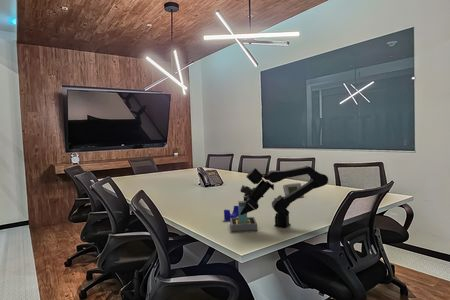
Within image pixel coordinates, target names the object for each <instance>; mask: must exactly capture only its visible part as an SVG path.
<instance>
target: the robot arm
mask: <svg viewBox="0 0 450 300" xmlns="http://www.w3.org/2000/svg"><path fill="white" fill-rule="evenodd" d="M304 175H307V176H309V177H310V179H309V180H308V182H306V183H304V184H302V185H301V187H299V188H298V189H296V190H295V191H293V192H291V193H290V194H288V195H287V196H285V195H284V196H283V195H280V194H279V196H277V197H275V198H273V201H272V202H271V208H272V209H273V210H274V211H275V216H274V227H278V228H283V229H285V228H288V227H289V226H292V225H291V223H290V211H289V210H288V207H289V206H290V205H291V204H292V203H293V202H295V201H296V200H298V199H300V198H302V197H301V196H303V195H304V196H305V195H306V194H308V193H310V192H311V191H312V190H314V189H315V190H316V189H318V188H322V187H324V186H327V184H328V183H329V177H328V176H327V175H326V174H324V173H320V172H319V171H316V170H315V169H314V168H312V167H311V166H310V165H309V166H308V165H305V166H303V167H297V168H292V169H286V170H269V171H268V172H267V173H261V172H260V171H259V170H258V168H256V167H254V168H253V169H252V170H250V171H249V172H248V174H246V177H245V178H246V179H248V181H250V182H251V183H252V184H253V185H256V187H253V188H251V187H249V186H248V185H243V184H242V185H241V187H240V190H239V191H240V192H241V193H242V194H243V201H246V205H245V207H244V208H243V210H242V211H241V213H240V214H241V215H243V214H246V213H247V214H248V213H250V212H253V211H257V209H259V207H260V205H259V200H261V198H263V197H264V196H265V194H266V193H267V192H269V190H270V189H271V190H273V191H275V184H276V183H279V182H281V181H283V180H285V179H289V178H294V177H299V176H304ZM271 183H272V184H271Z"/></svg>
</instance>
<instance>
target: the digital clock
mask: <svg viewBox="0 0 450 300" xmlns="http://www.w3.org/2000/svg"><path fill="white" fill-rule="evenodd" d="M301 186H302V184H301V182H294V183H286V184H283V185H282V189H283V192H284V196H287V195H288V194H290V193H291V192H293V191H295V190H296V189H298V188H299V187H301ZM304 197H305V194H304V195H303V196H301V197H300V198H304Z"/></svg>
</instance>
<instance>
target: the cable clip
mask: <svg viewBox="0 0 450 300" xmlns="http://www.w3.org/2000/svg"><path fill="white" fill-rule="evenodd" d="M230 218H239V206H238V205H234V206H233V211H232V213H231V210H230V209H226V208H225V209H224V210H223V219H224V221H226V222H227V221H229V222H230Z"/></svg>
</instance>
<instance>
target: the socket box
mask: <svg viewBox="0 0 450 300" xmlns="http://www.w3.org/2000/svg"><path fill="white" fill-rule="evenodd" d="M229 223H230V230H231V233H238V232H239V233H241V232H258V223H257V221H256V218H255V217H254V216H247V223H244V224H239V217H236V218H230V221H229Z"/></svg>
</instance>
